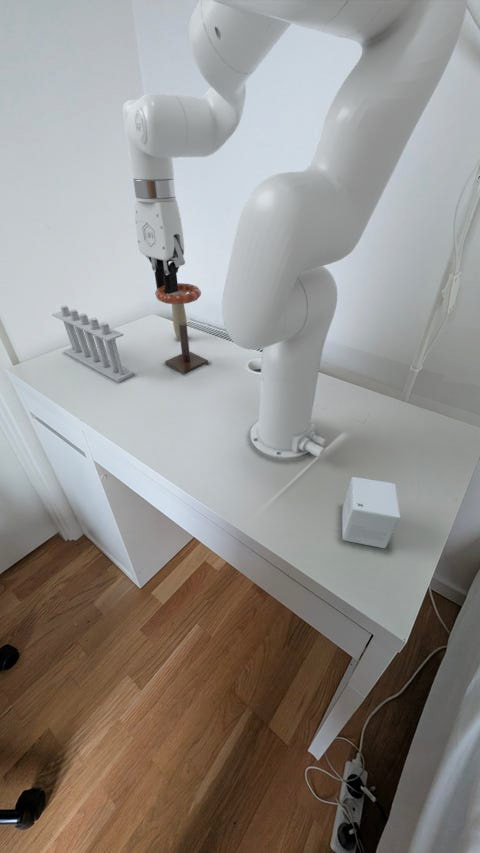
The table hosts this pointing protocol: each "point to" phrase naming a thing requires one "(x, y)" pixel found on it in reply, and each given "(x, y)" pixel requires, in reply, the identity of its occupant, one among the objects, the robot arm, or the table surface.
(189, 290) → the ring
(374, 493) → the product box
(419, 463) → the table surface
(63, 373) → the table surface
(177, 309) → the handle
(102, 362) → the test tube rack
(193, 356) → the rack post
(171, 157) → the robot arm
